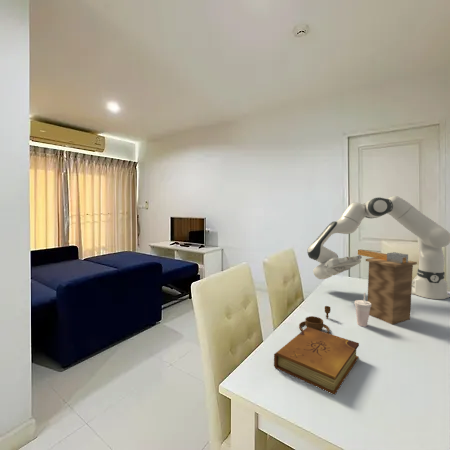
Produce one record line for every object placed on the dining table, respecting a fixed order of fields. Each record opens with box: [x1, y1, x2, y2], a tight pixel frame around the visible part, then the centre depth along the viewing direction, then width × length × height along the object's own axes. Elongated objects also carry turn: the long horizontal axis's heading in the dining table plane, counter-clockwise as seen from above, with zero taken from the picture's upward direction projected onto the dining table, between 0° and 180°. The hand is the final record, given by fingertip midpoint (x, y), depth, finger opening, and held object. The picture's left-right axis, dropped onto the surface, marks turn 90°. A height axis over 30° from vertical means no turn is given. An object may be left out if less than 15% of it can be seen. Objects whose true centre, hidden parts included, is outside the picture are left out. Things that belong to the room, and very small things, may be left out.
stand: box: [365, 257, 418, 326], centre depth 119 cm, size 14×14×26 cm
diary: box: [273, 327, 360, 395], centre depth 86 cm, size 23×19×6 cm
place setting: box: [298, 305, 331, 334], centre depth 109 cm, size 18×20×6 cm
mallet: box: [357, 249, 409, 264], centre depth 123 cm, size 22×5×4 cm, turn 24°
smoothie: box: [354, 291, 371, 328], centre depth 112 cm, size 6×6×14 cm
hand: (354, 257), depth 136 cm, fingers open, 8 cm apart
